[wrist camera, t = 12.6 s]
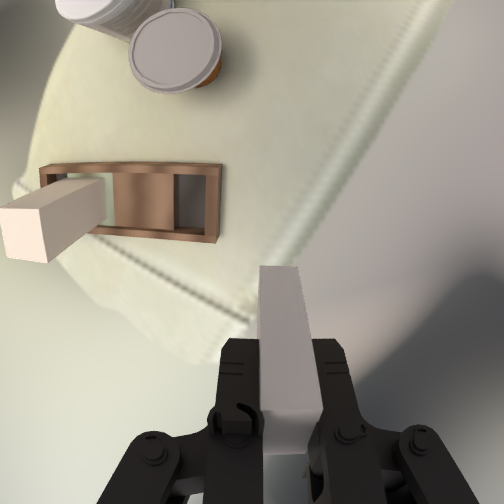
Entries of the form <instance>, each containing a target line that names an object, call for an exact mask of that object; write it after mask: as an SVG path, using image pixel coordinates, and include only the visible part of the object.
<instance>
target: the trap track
mask: <svg viewBox="0 0 504 504" xmlns="http://www.w3.org/2000/svg"><path fill="white" fill-rule="evenodd" d="M39 174H40V186H41V188H43V187H45V186H47V185H50V184H52V183H54V182H57V181H59V180H62V179H64V178H83V177H104V178H105V197H106V211H107V219H105V220H104V221H102V222H101V223H100V224H98V225H97V226H96V227H94V228H93V229H91V230H90V231H89V232H87V233H92V234H105V235H118V236H130V237H143V238H155V239H167V240H179V241H191V242H203V243H215V244H216V242H217V239H218V237H219V223H220V198H221V176H222V164H204V163H177V162H90V163H65V164H50V165H47V166H44V167H41V168H39Z"/></svg>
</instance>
